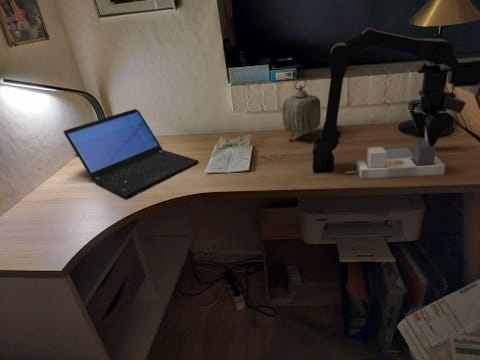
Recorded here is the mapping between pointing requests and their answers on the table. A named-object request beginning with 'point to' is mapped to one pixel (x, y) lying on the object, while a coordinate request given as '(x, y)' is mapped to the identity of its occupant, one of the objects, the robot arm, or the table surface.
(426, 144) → the grey rectangular block
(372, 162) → the block
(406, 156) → the slate mat
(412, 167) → the power strip
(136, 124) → the laptop
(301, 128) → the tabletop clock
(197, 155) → the table surface
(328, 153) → the robot arm
